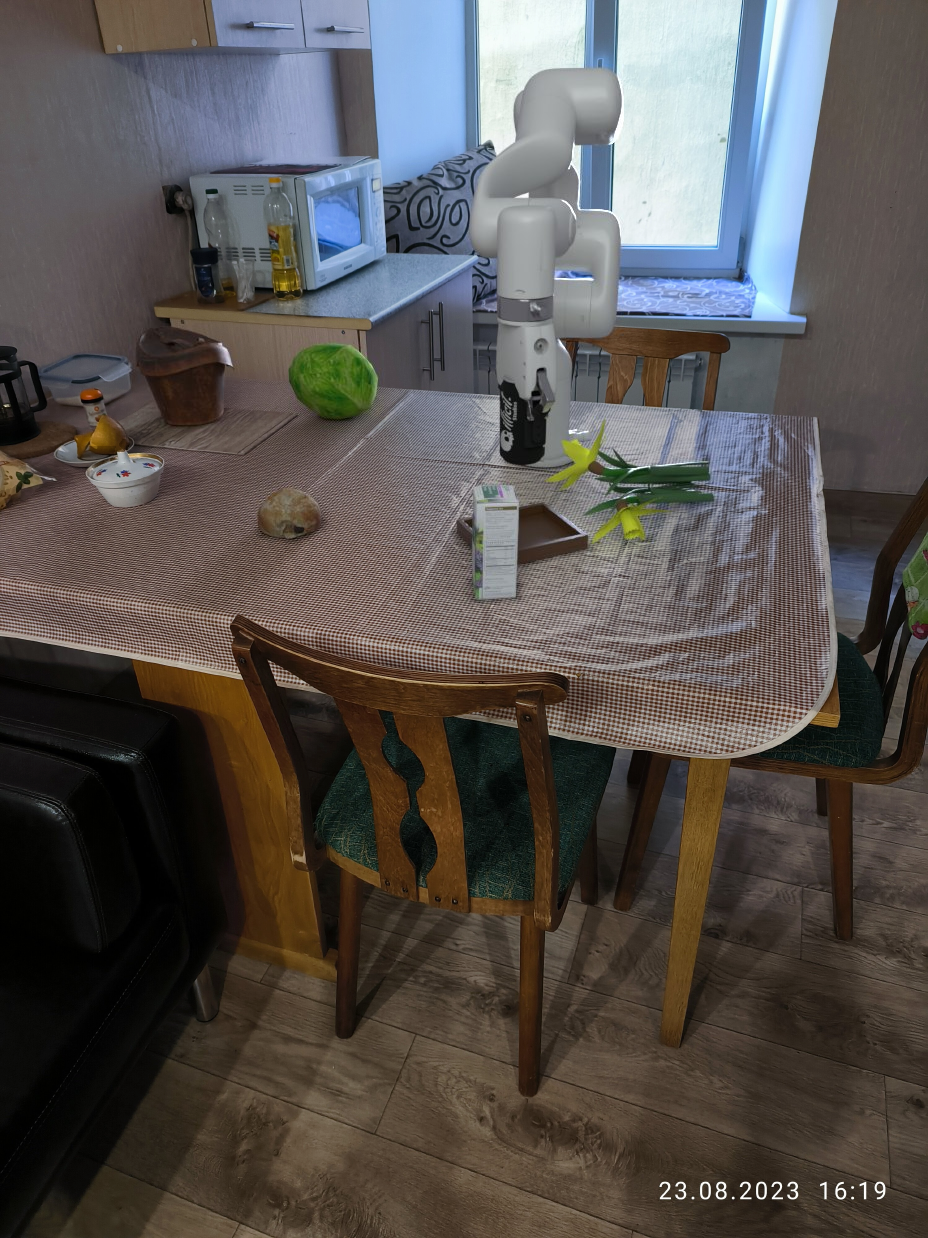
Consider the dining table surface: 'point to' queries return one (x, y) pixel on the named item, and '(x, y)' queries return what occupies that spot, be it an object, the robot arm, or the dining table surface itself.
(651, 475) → the daffodil flowers
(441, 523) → the dining table surface
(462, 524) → the tray
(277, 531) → the bread roll
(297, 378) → the lettuce
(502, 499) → the syrup box
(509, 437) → the beverage can
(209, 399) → the brown tapered bucket shape
